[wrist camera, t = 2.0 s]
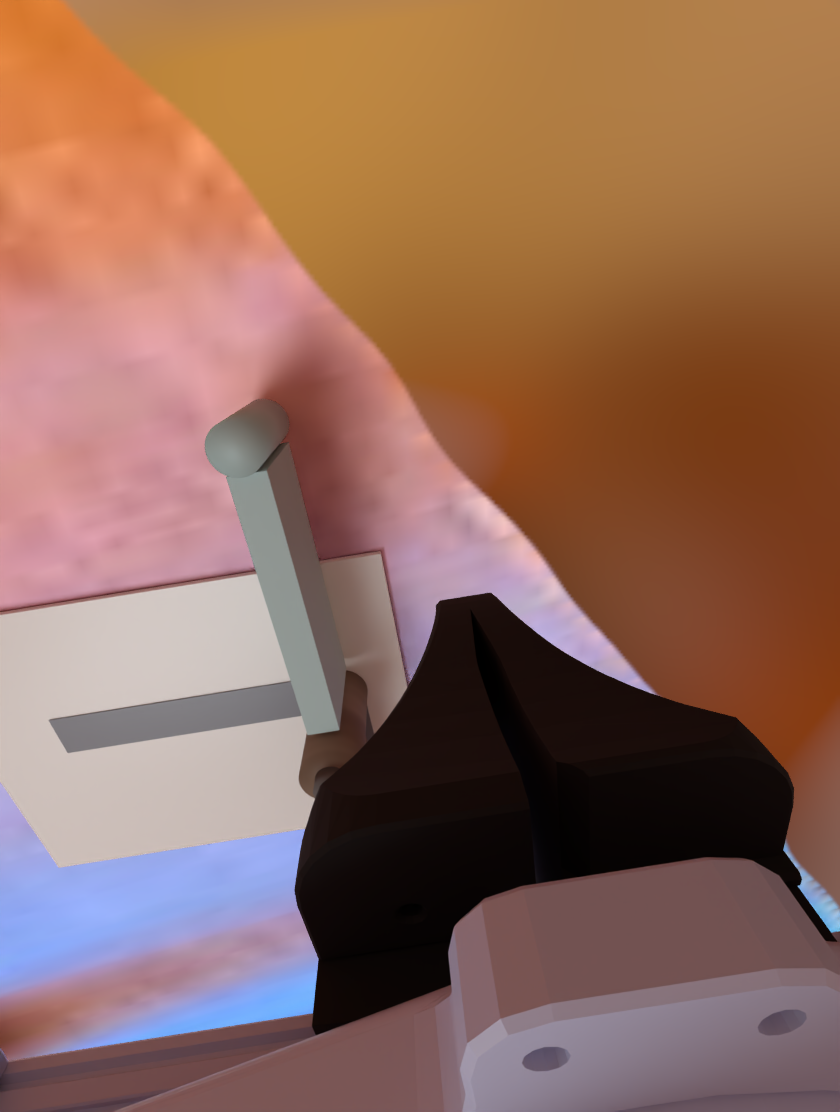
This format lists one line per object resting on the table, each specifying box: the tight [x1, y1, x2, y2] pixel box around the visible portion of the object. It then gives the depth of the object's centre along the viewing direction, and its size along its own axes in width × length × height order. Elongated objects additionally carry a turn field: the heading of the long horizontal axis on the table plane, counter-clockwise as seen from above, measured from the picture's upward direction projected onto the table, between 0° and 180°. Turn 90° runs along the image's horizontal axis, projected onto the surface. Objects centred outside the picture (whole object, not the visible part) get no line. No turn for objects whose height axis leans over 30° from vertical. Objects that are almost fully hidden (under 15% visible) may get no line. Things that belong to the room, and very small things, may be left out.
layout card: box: [0, 551, 408, 868], centre depth 24 cm, size 15×20×1 cm
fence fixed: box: [299, 670, 368, 798], centre depth 23 cm, size 9×2×6 cm, turn 8°
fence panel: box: [205, 399, 346, 735], centre depth 18 cm, size 12×2×4 cm, turn 8°
